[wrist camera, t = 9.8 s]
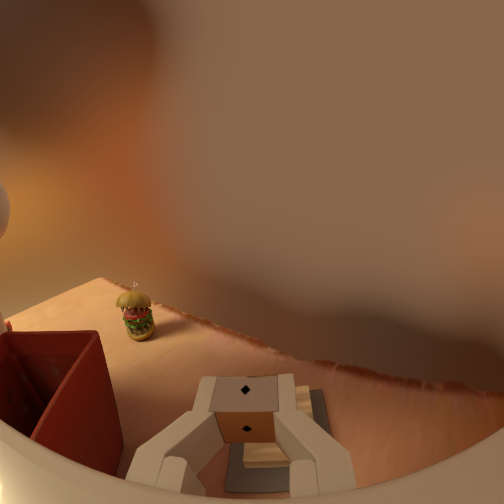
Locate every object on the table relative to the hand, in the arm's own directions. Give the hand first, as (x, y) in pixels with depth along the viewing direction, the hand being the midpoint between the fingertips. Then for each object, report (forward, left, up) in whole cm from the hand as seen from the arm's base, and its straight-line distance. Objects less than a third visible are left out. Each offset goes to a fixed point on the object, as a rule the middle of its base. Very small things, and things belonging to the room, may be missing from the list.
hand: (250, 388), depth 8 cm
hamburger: (-48, +7, -23) cm, 54 cm away
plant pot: (-21, -16, -23) cm, 35 cm away
